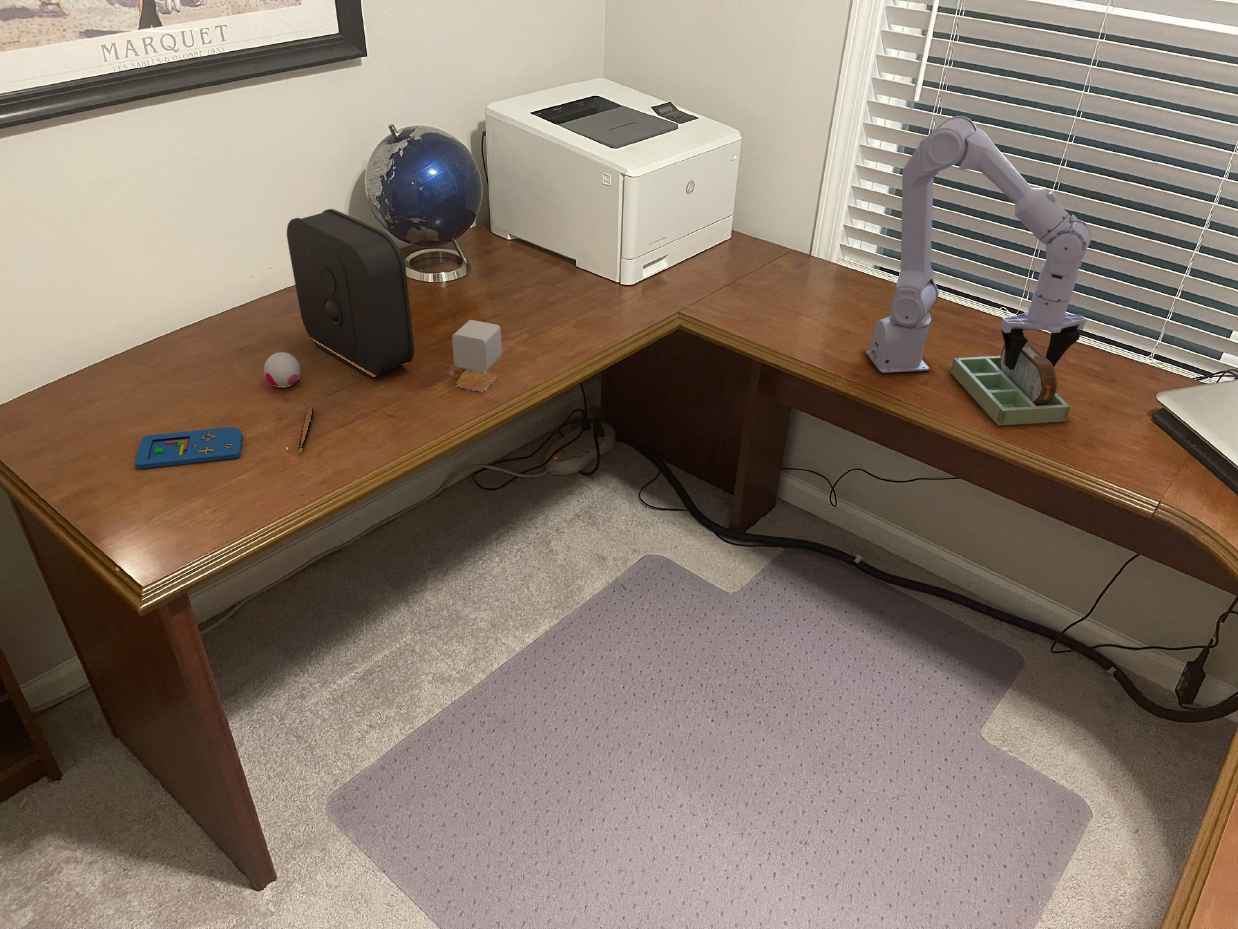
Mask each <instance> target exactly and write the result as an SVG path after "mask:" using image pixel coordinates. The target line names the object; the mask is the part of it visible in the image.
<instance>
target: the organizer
mask: <svg viewBox="0 0 1238 929" xmlns="http://www.w3.org/2000/svg"><path fill="white" fill-rule="evenodd" d="M1000 358H1001V355H989V356H972V357H954V358H953V361H952V364H951V368H950V374H951V375H952V376H953V377H954V378H955V379H956V381H957V382H958V383H959V384H960V385H961V386H962V387H963V388H964V389H965V391H966V392H967V393H968V394H969V395H970V396H971V397H972V398H973V399H974V400H975V402H976V403H977V404H978V405H979V406H980V407H981V409H982V410H983V411H984V412H985V413H986V414H987V415H988V416H989V417H990V418H991V419H992V421H993V422H994V423H995V424H996V425H997V426H1014V425H1031V424H1032V425H1033V424H1048V423H1049V424H1050V423H1063V422H1066V420H1067V417H1068V414H1069V412H1070V409H1071V406H1070V405H1069V404H1068V403H1067V402H1066V401H1065V400H1064V399H1063V398H1062V397H1061V396H1060V395H1059V394H1058V393H1057V392H1056V393H1055V396H1054V398H1053V400H1052V401H1051V402H1050V403H1049V404H1047V405H1035V404H1034V403H1033V402H1032V401H1031V400H1030V399H1029V398H1028V397H1027V396H1026V395H1025V394H1024V393H1023V392H1022V391H1021V390H1020V389H1019V388H1018V387H1017V386H1016V385H1015V384H1014V383H1013V382H1012V381H1011V380H1010V379H1009V378H1008V377H1007V376H1006V375H1005V374H1004V373H1003V372H1002V371H1001V370H1000Z"/></svg>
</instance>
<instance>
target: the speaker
mask: <svg viewBox="0 0 1238 929" xmlns="http://www.w3.org/2000/svg"><path fill="white" fill-rule="evenodd" d="M286 240H287V245H288V251H289V257H290V263H291V270H292V274H293V279H294V286H295V291H296V296H297V301H298V306H299V311H300V318H301V321H302V324H303V327H304V329H305V331H306V333H307V335H308V337H309V338H310V337H312V338H313V339H315V340H316V341H318V342H319V343H321V344H323V345H324V346H326V347H328V348H330V349H331V350H333V351H334V352H336V353H338V354H340V355H342V356H343V357H345V358H346V359H348V360H350V361H351V362H354V363H355V364H357V365H358V366H360V367H362V368H364V369H365V370H367V371H369V372H371V373H373V374H374V375H376V376H378V375H379V376H380V375H381V374H383V373H386V372H388V371H390V370H393V369H395V368H397V367H396V366H398V367H404V366H406V365H401V364H404V363H406V362H407V363H409V362H410V363H412V361H413V359H414V356H415V344H414V342H415V341H414V333H413V324H412V323H413V322H412V315H411V313H412V312H411V305H410V298H409V297H410V296H409V286H408V277H407V271H406V270H407V269H406V264H405V260H404V257H403V255H402V253H401V250H400V248H399V247H398V245H397V243H396V242H395V240H394V239H393V237H391V236H390V235H389V234H388V233H387V232H384V231H383V230H381V229H379V228H377V227H375V226H372V225H370V224H368V223H366V222H363V221H362V220H359V219H357V218H354V217H352V216H350V215H349V214H345V213H343V212H341V211H339V210H336V209H334V208H328V209H325V210H324V211H323V210H322V212H320V213H317V214H313V215H309V216H305V217H295V218H292V219H290V220H289V222H288V223H287V226H286ZM311 341H312V343H314V345H315V346H316V347H317V348H318V349H320V350H321V351H323V352H324V353H326V354H328V355H330V356H331V357H333V358H334V359H336V360H337V361H339V362H341V363H343V364H344V365H346V366H348V367H349V368H351V369H352V370H354V371H356V372H358V374H359V373H360V374H361V375H362V376H364V377H366V378H368V379H376V378H377V377H372V376H371V375H369V374H367V373H366V372H364V371H362V370H361V369H359V368H357V367H356V366H354V365H352V364H351V363H349V362H347V361H346V360H344V359H342V358H341V357H339V356H337V355H336V354H334V353H332V352H331V351H329V350H327V349H326V348H324V347H322V346H321V345H319V344H317V343H316V342H314V341H313V340H312V339H311ZM410 363H409V364H410ZM399 365H400V366H399ZM394 367H395V368H394ZM392 368H393V369H392ZM389 369H390V370H389ZM387 370H388V371H387ZM385 371H386V372H385ZM382 372H383V373H382ZM379 376H378V377H379Z"/></svg>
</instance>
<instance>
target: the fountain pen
mask: <svg viewBox="0 0 1238 929" xmlns="http://www.w3.org/2000/svg"><path fill="white" fill-rule="evenodd" d="M310 407H311V406H309V407H308V409H309V408H310ZM314 412H315V411H314V407H313V408H312V415H311V420H310V422H309V426H308V430H307V433H306V436H305V440H304V442H303V444H302V447H300V446H301V437H302V432H303V429H302V430H301V434H300V439H299V446H298V453H299V454H301V453H303V451H304V450H305V447H306V444H307V441H308V437H309V434H310V431H311V426H312V425H313V424H312V423H313V419H314ZM306 414H307V412H306ZM306 414H305V415H304V416H305V417H306ZM305 417H304V420H303V426H302V428H303V427H304V423H305V422H304V421H305Z"/></svg>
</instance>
